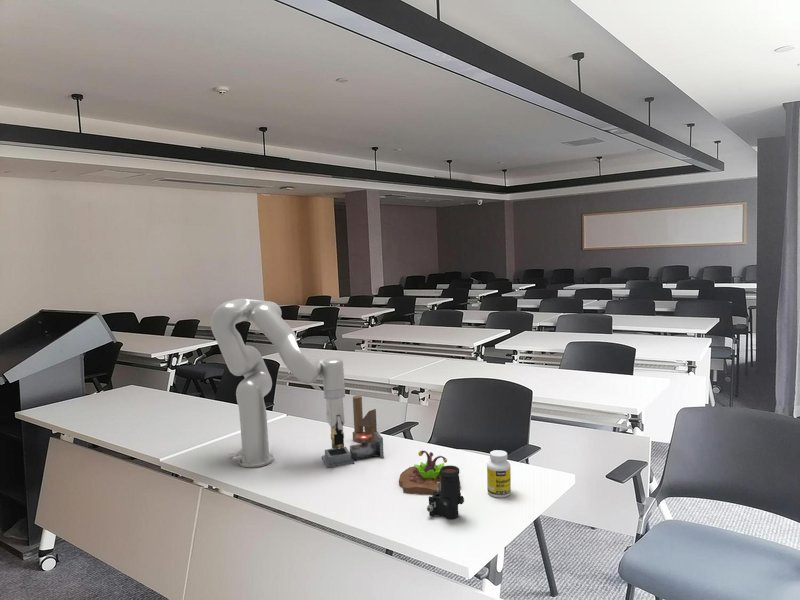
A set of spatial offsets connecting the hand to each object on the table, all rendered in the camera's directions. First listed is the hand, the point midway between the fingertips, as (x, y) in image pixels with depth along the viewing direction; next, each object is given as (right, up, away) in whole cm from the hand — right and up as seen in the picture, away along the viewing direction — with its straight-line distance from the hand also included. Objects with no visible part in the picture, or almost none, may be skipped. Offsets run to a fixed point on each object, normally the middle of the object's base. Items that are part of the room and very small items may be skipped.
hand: (337, 441), depth 208 cm
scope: (+36, -10, -43) cm, 57 cm away
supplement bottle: (+53, -9, -30) cm, 62 cm away
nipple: (0, -2, 0) cm, 2 cm away
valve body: (+5, -7, +2) cm, 9 cm away
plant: (+32, -9, -20) cm, 39 cm away
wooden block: (+9, -5, +19) cm, 22 cm away
